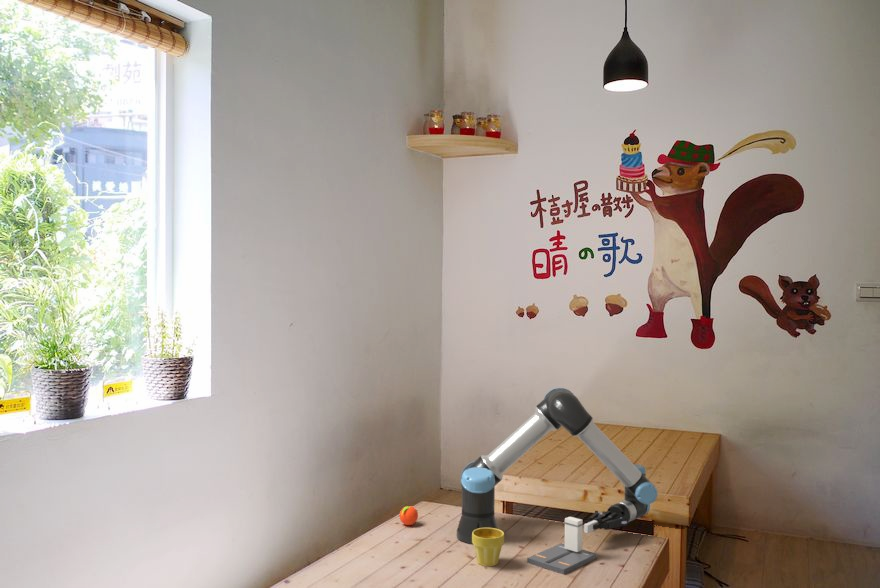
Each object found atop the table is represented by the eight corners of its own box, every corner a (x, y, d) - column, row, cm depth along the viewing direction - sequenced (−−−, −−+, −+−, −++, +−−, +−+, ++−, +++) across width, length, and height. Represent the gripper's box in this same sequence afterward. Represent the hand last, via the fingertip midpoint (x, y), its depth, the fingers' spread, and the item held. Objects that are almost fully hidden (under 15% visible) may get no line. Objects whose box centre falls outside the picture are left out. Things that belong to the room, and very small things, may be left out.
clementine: (409, 529, 271) (409, 510, 271) (393, 526, 275) (394, 507, 275) (421, 524, 278) (421, 505, 278) (406, 520, 282) (406, 502, 282)
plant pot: (502, 570, 233) (502, 539, 233) (469, 567, 236) (469, 536, 235) (505, 558, 244) (505, 528, 244) (474, 555, 246) (474, 526, 246)
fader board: (527, 562, 240) (527, 557, 240) (560, 547, 254) (560, 542, 254) (563, 574, 230) (563, 569, 230) (596, 558, 244) (596, 553, 244)
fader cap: (564, 548, 247) (564, 518, 247) (569, 546, 250) (569, 516, 249) (577, 552, 244) (577, 521, 244) (582, 549, 246) (582, 519, 246)
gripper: (637, 527, 265) (602, 544, 247) (605, 519, 274) (569, 535, 256) (637, 506, 264) (602, 522, 247) (605, 499, 273) (569, 513, 256)
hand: (585, 528), depth 252 cm, fingers closed
